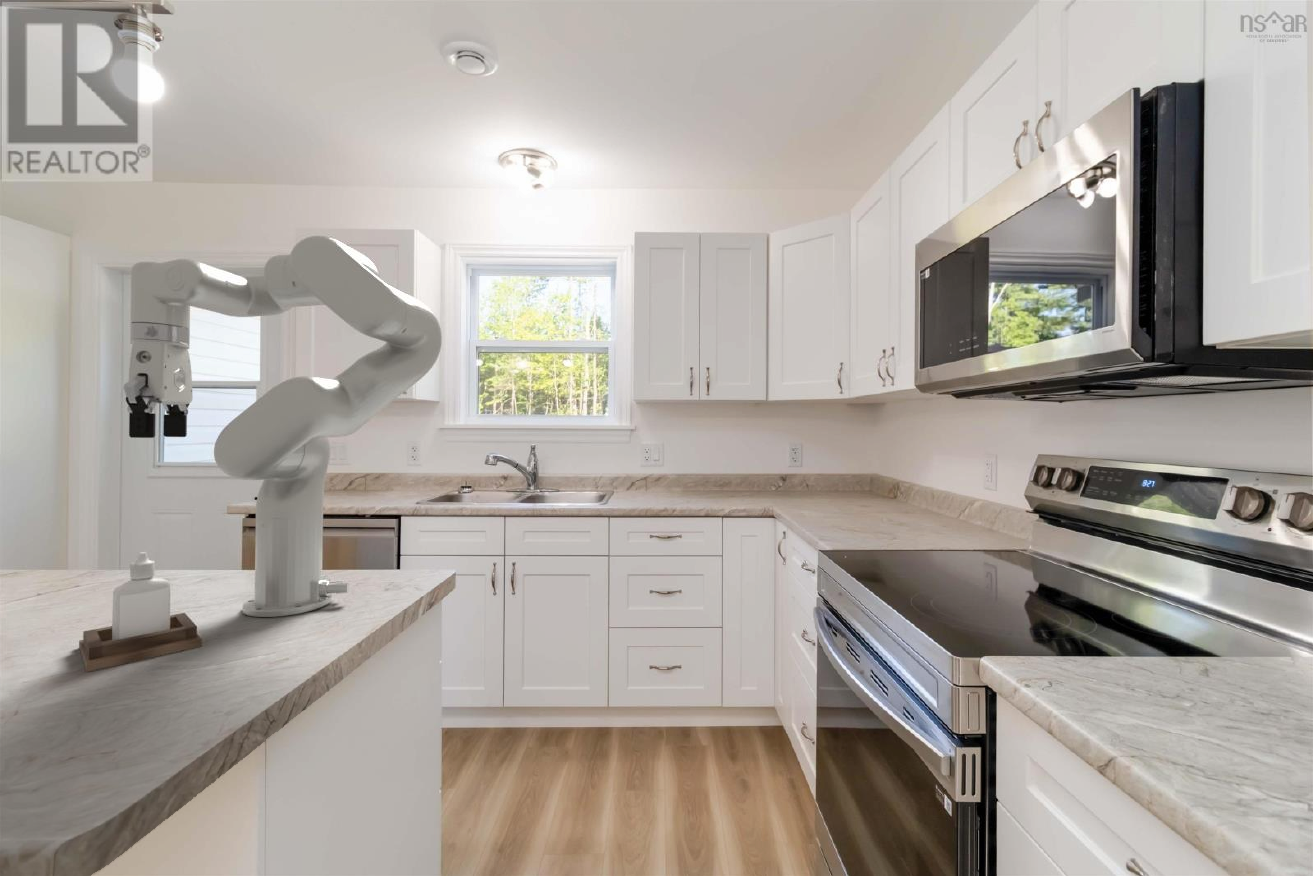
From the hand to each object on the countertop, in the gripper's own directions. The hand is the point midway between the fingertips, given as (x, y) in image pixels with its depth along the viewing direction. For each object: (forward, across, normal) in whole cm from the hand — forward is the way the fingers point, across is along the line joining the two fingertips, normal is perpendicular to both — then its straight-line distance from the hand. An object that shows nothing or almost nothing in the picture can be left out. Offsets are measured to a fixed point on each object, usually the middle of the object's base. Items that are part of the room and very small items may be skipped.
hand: (159, 437), depth 93 cm
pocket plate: (+28, -23, -9) cm, 38 cm away
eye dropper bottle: (+28, -23, -9) cm, 37 cm away
